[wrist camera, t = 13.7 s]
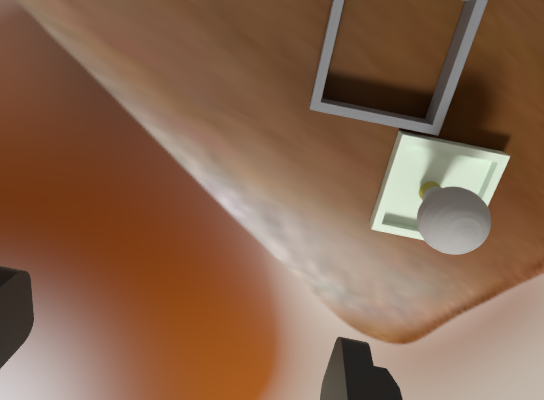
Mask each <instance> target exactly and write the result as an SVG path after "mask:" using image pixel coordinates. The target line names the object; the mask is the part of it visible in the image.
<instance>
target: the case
mask: <svg viewBox="0 0 544 400" xmlns="http://www.w3.org/2000/svg"><path fill="white" fill-rule="evenodd" d="M462 1H465V4H464V7H463V10H462V13H461V16H460V19H459V21H458V24H457V27H456V30H455V33H454V36H453V39H452V42H451V45H450V48H449V50H448V53H447V56H446V59H445V62H444V65H443V68H442V71H441V74H440V77H439V79H438V82H437V85H436V88H435V91H434V94H433V97H432V100H431V103H430V106H429V108H428V111H427V114H426V117H425V119H422V118H417V117H412V116H407V115H402V114H397V113H392V112H388V111H383V110H378V109H373V108H368V107H363V106H358V105H353V104H348V103H343V102H338V101H333V100H328V99H323V98H322V94H323V90H324V85H325V81H326V77H327V72H328V68H329V64H330V59H331V55H332V51H333V46H334V42H335V38H336V33H337V29H338V25H339V20H340V16H341V12H342V7H343V3H344V0H333V1H332V5H331V10H330V14H329V19H328V23H327V28H326V32H325V37H324V41H323V46H322V50H321V55H320V60H319V64H318V69H317V73H316V78H315V82H314V87H313V91H312V96H311V100H310V110H315V111H319V112H324V113H329V114H334V115H339V116H344V117H349V118H354V119H359V120H364V121H369V122H374V123H379V124H383V125H388V126H393V127H398V128H403V129H408V130H413V131H418V132H423V133H428V134H433V135H439V132H440V130H441V127H442V124H443V121H444V119H445V116H446V113H447V110H448V108H449V105H450V102H451V99H452V97H453V94H454V91H455V88H456V86H457V83H458V80H459V77H460V75H461V72H462V69H463V67H464V64H465V61H466V58H467V56H468V53H469V50H470V47H471V45H472V42H473V39H474V36H475V34H476V31H477V28H478V25H479V23H480V20H481V17H482V15H483V12H484V9H485V6H486V4H487V1H488V0H462Z"/></svg>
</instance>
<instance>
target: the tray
mask: <svg viewBox="0 0 544 400" xmlns="http://www.w3.org/2000/svg"><path fill="white" fill-rule="evenodd" d="M509 158H510V156H509V155H507V154H506V153H504V152H503V151H498V150H493V149H488V148H483V147H478V146H473V145H469V144H464V143H459V142H454V141H449V140H444V139H439V138H434V137H429V136H424V135H419V134H414V133H409V132H404V131H400V130H399V131H398V134H397V138H396V141H395V144H394V147H393V150H392V153H391V156H390V159H389V162H388V166H387V169H386V172H385V175H384V178H383V181H382V184H381V187H380V191H379V194H378V197H377V200H376V203H375V206H374V209H373V212H372V215H371V219H370V222H369V223H370V226H371V229H372V230H377V231H382V232H386V233H391V234H396V235H401V236H406V237H411V238H416V239H421V240H424V239H423V237H422V236H421V234H420V232H419V229H418V225H417V213H418V209H419V207H420V205H421V203H422V202H423V201H422V199H421V198H420V196H419V189H420V187H421V186H422V185H423V184H424V183H426V182H430V181H433V182H436V183H437V184H439V185H440V186H441V187H442V188H445V187H461V188H464V189H467V190H470V191H472V192H474V193H475V194H477V195H478V196H479V197H480V198H481V199H482V200H483V201H484V202H485V203H486V205H487V207H488V205H489V202H490V200H491V198H492V196H493V193H494V191H495V189H496V187H497V185H498V182H499V180H500V178H501V176H502V174H503V171H504V169H505V167H506V165H507V162H508V160H509Z"/></svg>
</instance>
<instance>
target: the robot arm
mask: <svg viewBox="0 0 544 400" xmlns="http://www.w3.org/2000/svg"><path fill="white" fill-rule="evenodd" d="M33 321H34V314H33V302H32V290H31V279H30V275H29V273H28V272H26V271H23V270H18V269H13V268H8V267H3V266H0V368H1V367H2V366H3V365H4V364H5V363H6V362H7V361H8V359H10V357H11V356H12V355H13V354H14V353H15V352H16V351H17V350H18V349H19V348H20V346H21V345H22V344H23V343H24V342H25V340H26V339H27V337H28V336H29V333H30V332H31V329H32V326H33ZM320 400H402V396H401V392H400V388H399V386H398V385H397V383H396V382H395V380H394V379H393V377H392V376H391V374H390V373H389V371H388V370H387V369H386V368H381V367H376V366H373V361H372V356H371V351H370V347H369V344H368V343H367V342H362V341H358V340H353V339H348V338H343V337H338V338H337V340H336V342H335V345H334V349H333V351H332V354H331V357H330V360H329V363H328V367H327V370H326V373H325V376H324V379H323V383H322V389H321V396H320Z"/></svg>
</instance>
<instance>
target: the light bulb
mask: <svg viewBox="0 0 544 400" xmlns="http://www.w3.org/2000/svg"><path fill="white" fill-rule="evenodd" d="M419 196H420V198H421V199H422V201H423V202H422V203H421V205H420V207H419V209H418V213H417V225H418V229H419V232H420V234H421V236H422V237H423V239H424V240H425V241H426V243H427V244H428V245H430V246H431V247H432V248H434V249H436V250H438V251H440V252H443V253H447V254H464V253H468V252H470V251H472V250H474V249H476V248H477V247H479V246H480V245H481V244H482V243H483V242H484V241H485V239H486V238H487V236H488V234H489V231H490V227H491V216H490V212H489V209H488V207H487V205H486V203H485V202H484V201H483V200H482V199H481V198H480V197H479V196H478V195H477V194H475V193H474V192H472V191H470V190H467V189H464V188H461V187H445V188H442V187H441V186H440V185H439V184H437V183H436V182H433V181H430V182H426V183H424V184H423V185H422V186H421V187H420V189H419Z"/></svg>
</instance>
